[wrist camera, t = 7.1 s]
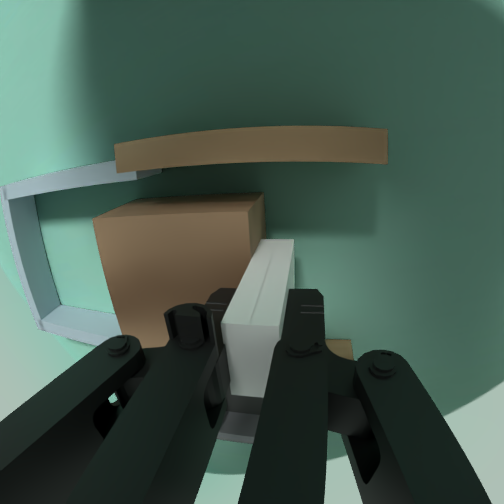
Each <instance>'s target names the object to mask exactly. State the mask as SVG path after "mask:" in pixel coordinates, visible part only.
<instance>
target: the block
mask: <svg viewBox="0 0 504 504" xmlns="http://www.w3.org/2000/svg"><path fill="white" fill-rule="evenodd" d="M92 220H93V226H94V231H95V236H96V240H97V245H98V250H99V254H100V258H101V263H102V267H103V271H104V275H105V279H106V282H107V286H108V290H109V293H110V297H111V300H112V304H113V307H114V311H115V314H116V317H117V320H118V323H119V327H120V330H121V333H122V335H131V336H135V337H136V338H138V339H139V341H140V343H141V346H142V348H152V347H162V346H165V345H166V344H167V342H168V341H169V335H168V331H167V327H166V323H165V318H164V313H165V312H166V311H167V310H168V309H170V308H172V307H174V306H176V305H180V304H185V303H199V304H204V305H205V303H206V301H207V300H208V298H209V297H210V295H211V294H212V293H213V292H215V291H216V290H218V289H219V288H238V286H239V284H240V282H241V279H242V277H243V275H244V273H245V271H246V269H247V267H248V265H249V263H250V261H251V259H252V257H253V255H254V253H255V251H256V248H257V246H258V244H259V242H260V240H261V239H266V222H265V203H264V192H252V193H225V194H204V195H187V196H172V197H158V198H146V199H136V200H134V201H131V202H129V203H126V204H124V205H122V206H119V207H117V208H115V209H113V210H110V211H108V212H106V213H104V214H101V215H99V216H97V217H95V218H93V219H92Z"/></svg>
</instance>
